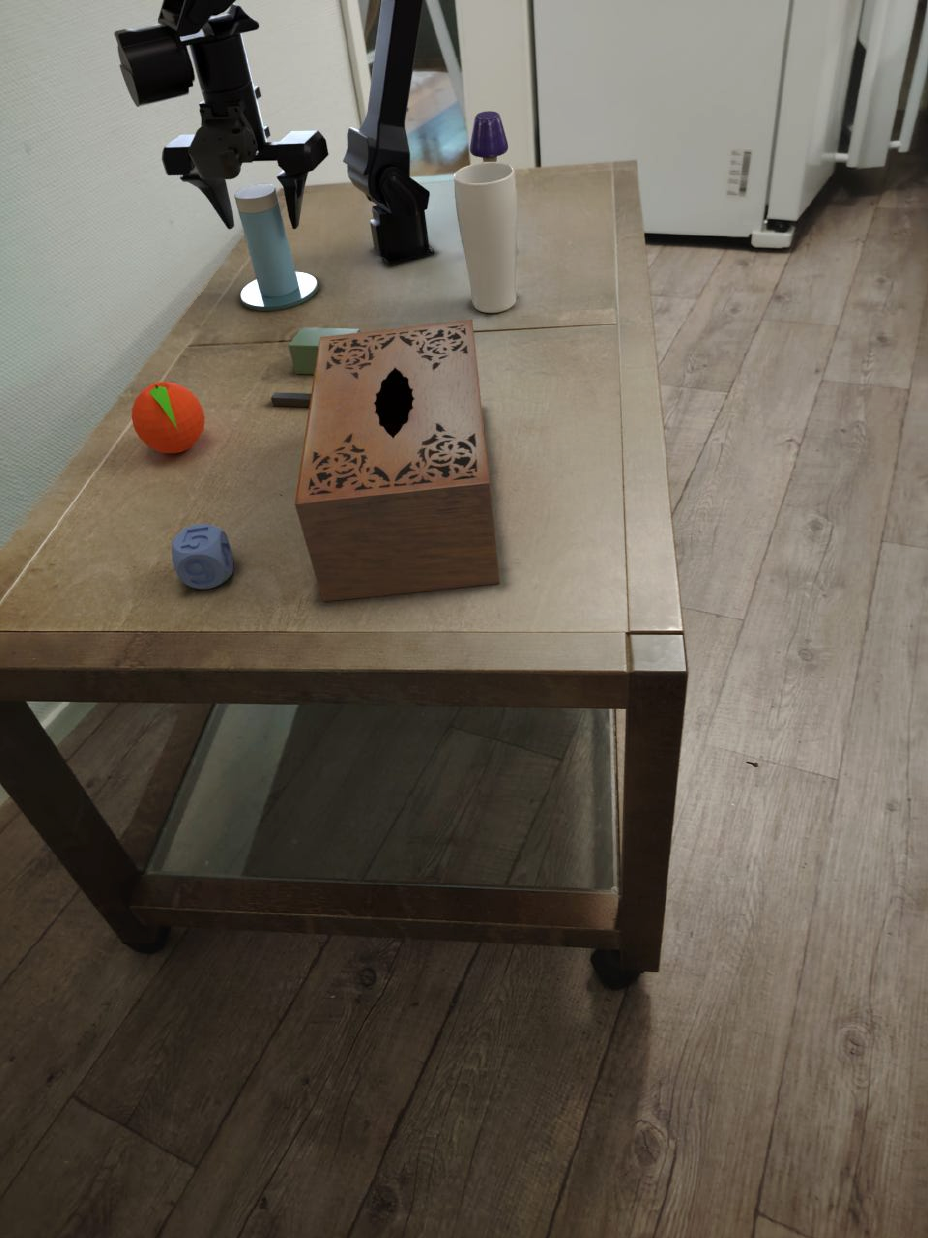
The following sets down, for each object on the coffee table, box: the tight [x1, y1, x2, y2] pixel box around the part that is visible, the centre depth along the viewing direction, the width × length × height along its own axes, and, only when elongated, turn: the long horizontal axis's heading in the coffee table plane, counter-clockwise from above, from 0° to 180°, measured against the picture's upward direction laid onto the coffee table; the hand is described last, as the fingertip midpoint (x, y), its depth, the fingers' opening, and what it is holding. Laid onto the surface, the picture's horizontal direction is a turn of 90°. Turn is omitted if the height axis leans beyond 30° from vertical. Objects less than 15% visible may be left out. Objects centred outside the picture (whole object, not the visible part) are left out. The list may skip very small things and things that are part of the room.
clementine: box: [131, 381, 206, 454], centre depth 89 cm, size 8×7×7 cm
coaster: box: [239, 271, 319, 312], centre depth 115 cm, size 10×10×1 cm
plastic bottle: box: [233, 183, 298, 297], centre depth 111 cm, size 12×5×12 cm
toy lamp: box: [469, 110, 509, 163], centre depth 111 cm, size 5×5×17 cm
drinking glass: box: [453, 161, 518, 314], centre depth 102 cm, size 7×7×15 cm
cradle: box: [270, 327, 361, 408], centre depth 97 cm, size 11×7×4 cm, turn 166°
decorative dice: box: [171, 523, 234, 590], centre depth 75 cm, size 4×4×4 cm
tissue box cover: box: [294, 318, 501, 603], centre depth 78 cm, size 26×14×10 cm, turn 3°
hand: (263, 227), depth 109 cm, fingers open, 8 cm apart
